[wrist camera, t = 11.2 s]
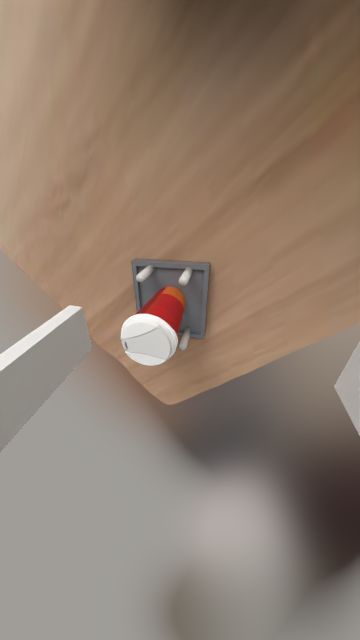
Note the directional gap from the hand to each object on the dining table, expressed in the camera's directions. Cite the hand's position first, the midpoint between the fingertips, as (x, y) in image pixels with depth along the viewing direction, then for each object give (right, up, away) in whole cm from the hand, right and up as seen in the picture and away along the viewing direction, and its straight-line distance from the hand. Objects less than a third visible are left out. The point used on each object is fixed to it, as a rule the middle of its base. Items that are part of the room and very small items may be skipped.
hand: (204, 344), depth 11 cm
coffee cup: (-3, +5, +31) cm, 32 cm away
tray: (-3, +6, +32) cm, 33 cm away
